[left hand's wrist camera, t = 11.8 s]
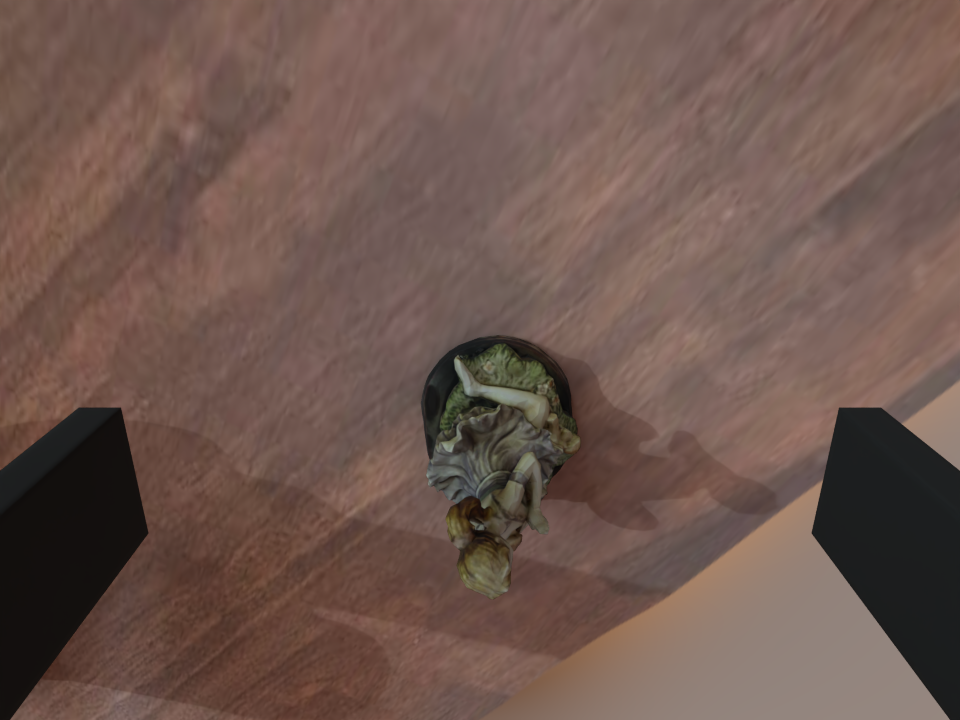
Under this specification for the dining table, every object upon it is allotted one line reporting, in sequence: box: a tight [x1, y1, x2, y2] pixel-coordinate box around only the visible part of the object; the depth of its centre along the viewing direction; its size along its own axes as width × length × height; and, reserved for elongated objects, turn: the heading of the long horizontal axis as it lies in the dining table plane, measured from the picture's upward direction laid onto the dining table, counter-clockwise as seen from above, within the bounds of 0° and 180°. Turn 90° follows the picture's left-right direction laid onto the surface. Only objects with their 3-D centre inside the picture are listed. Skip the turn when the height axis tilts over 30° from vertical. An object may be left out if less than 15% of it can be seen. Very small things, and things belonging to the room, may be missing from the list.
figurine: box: [421, 335, 581, 599], centre depth 39 cm, size 12×11×15 cm
